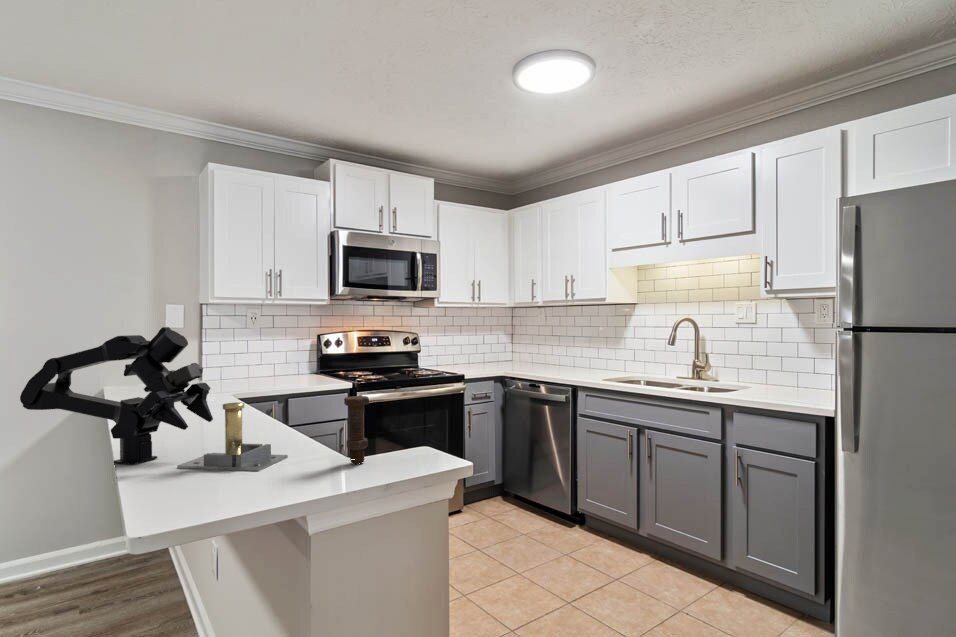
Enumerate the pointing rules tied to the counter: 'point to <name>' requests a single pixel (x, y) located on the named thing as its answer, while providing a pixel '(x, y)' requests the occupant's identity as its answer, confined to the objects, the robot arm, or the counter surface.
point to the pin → (233, 428)
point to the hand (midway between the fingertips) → (199, 424)
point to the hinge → (237, 459)
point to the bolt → (356, 427)
